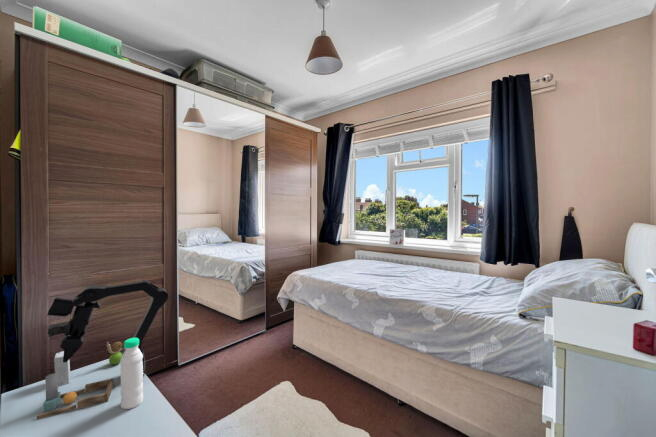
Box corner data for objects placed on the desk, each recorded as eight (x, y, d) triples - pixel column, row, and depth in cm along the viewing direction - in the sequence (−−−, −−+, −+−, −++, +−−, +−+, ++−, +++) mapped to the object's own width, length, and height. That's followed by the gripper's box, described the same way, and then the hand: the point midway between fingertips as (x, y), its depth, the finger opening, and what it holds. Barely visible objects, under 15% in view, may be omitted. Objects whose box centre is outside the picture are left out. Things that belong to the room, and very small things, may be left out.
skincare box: (69, 383, 117) (68, 355, 117) (54, 387, 114) (53, 358, 114) (70, 376, 122) (70, 349, 122) (56, 379, 119) (55, 352, 119)
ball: (78, 397, 108) (78, 388, 108) (75, 404, 105) (74, 394, 105) (64, 401, 107) (64, 391, 106) (60, 407, 103) (60, 397, 103)
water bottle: (131, 411, 102) (131, 345, 101) (116, 408, 103) (115, 343, 102) (147, 398, 109) (147, 336, 108) (132, 395, 110) (132, 334, 109)
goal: (113, 385, 117) (113, 378, 116) (107, 401, 107) (107, 393, 107) (49, 400, 107) (49, 392, 107) (36, 419, 97) (36, 411, 97)
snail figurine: (104, 365, 130) (103, 341, 130) (119, 359, 136) (119, 335, 135) (110, 369, 127) (109, 343, 127) (125, 362, 133) (125, 338, 133)
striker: (60, 399, 107) (60, 370, 106) (54, 409, 101) (54, 379, 101) (49, 402, 105) (49, 372, 105) (42, 412, 100) (42, 381, 99)
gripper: (58, 308, 114) (43, 347, 112) (50, 324, 100) (32, 368, 97) (92, 311, 121) (78, 347, 119) (89, 325, 106) (73, 367, 104)
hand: (66, 356), depth 110 cm, fingers open, 9 cm apart
